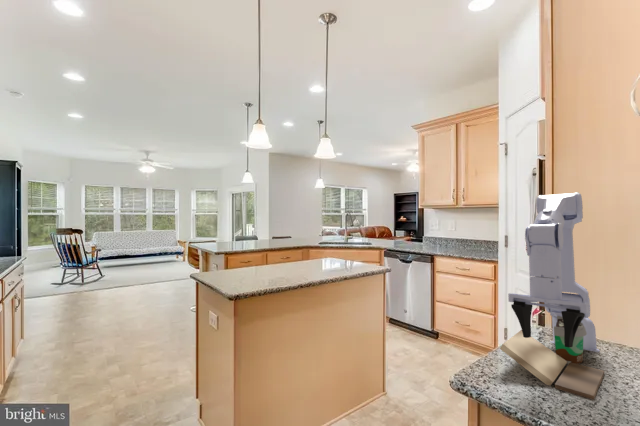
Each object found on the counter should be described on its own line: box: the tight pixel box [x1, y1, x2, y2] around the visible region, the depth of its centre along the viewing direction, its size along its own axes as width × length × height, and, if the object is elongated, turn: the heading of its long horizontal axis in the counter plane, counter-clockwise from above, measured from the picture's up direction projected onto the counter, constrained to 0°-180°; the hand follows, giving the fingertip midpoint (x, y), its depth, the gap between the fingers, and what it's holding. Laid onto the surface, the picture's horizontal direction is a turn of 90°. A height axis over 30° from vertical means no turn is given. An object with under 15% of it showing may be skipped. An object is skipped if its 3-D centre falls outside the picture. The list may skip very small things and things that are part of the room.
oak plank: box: [499, 329, 567, 386], centre depth 74 cm, size 11×14×2 cm
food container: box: [554, 316, 587, 365], centre depth 79 cm, size 12×6×10 cm, turn 139°
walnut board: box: [554, 362, 605, 401], centre depth 68 cm, size 15×6×2 cm, turn 131°
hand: (546, 341), depth 66 cm, fingers open, 7 cm apart
